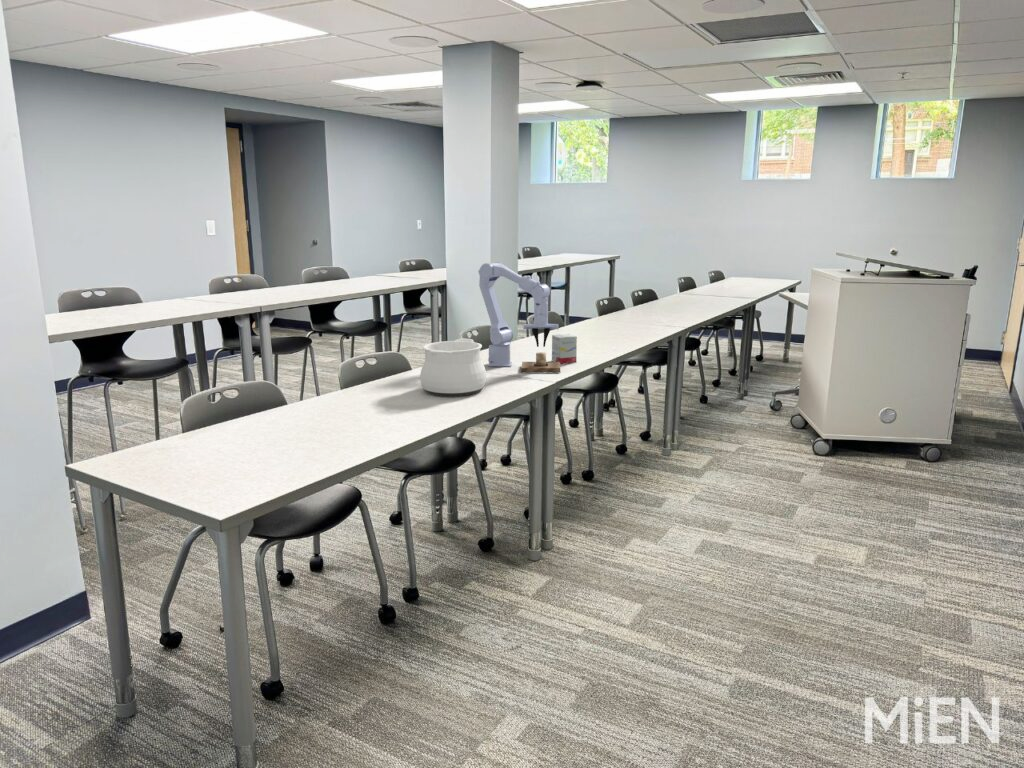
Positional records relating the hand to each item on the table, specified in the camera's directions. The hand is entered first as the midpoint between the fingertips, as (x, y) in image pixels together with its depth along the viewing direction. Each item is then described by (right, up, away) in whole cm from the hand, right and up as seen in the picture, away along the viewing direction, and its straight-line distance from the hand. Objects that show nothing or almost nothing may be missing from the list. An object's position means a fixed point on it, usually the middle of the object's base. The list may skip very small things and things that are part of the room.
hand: (541, 346), depth 299 cm
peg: (0, -10, +2) cm, 10 cm away
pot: (-34, -18, -32) cm, 50 cm away
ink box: (+11, -6, +18) cm, 22 cm away
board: (0, -10, +2) cm, 10 cm away
